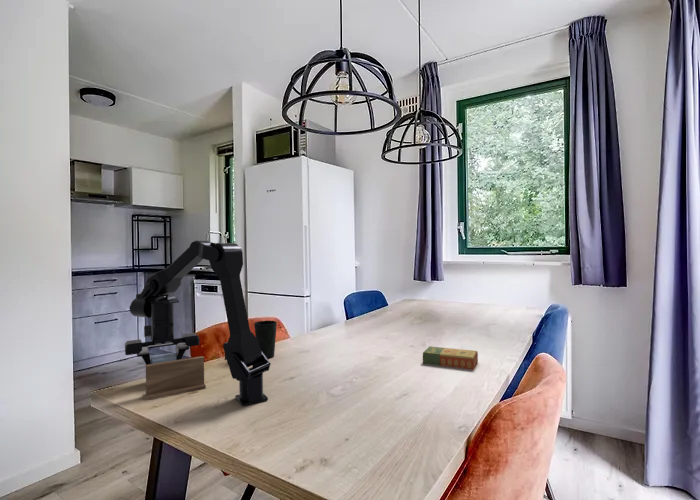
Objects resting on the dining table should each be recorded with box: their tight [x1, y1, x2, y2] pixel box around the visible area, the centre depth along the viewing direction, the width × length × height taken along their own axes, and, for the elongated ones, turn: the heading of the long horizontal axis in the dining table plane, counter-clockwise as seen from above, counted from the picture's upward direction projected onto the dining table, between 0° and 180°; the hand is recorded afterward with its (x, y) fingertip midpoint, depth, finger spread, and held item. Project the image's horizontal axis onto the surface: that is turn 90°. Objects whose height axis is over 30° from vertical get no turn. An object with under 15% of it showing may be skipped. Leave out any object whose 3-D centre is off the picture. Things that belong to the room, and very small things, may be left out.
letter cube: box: [150, 352, 176, 364], centre depth 108 cm, size 6×6×6 cm
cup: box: [253, 320, 277, 360], centre depth 132 cm, size 8×8×12 cm
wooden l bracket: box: [145, 355, 207, 401], centre depth 101 cm, size 5×14×8 cm, turn 122°
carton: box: [422, 346, 479, 371], centre depth 122 cm, size 8×16×4 cm, turn 63°
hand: (163, 373), depth 108 cm, fingers closed on letter cube, 6 cm apart
